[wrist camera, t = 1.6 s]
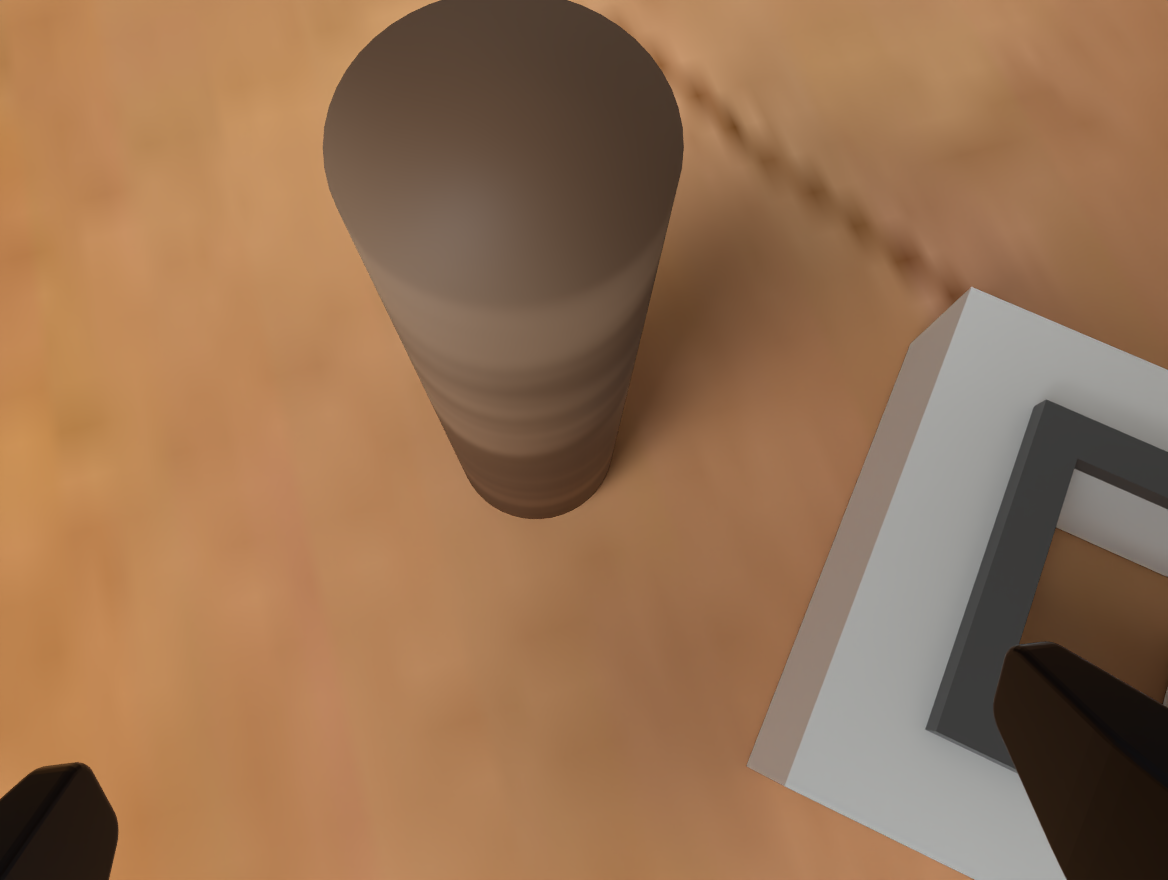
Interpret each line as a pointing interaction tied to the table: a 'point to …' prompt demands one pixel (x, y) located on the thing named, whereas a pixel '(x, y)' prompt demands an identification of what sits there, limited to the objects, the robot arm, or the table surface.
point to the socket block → (962, 577)
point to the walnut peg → (511, 226)
